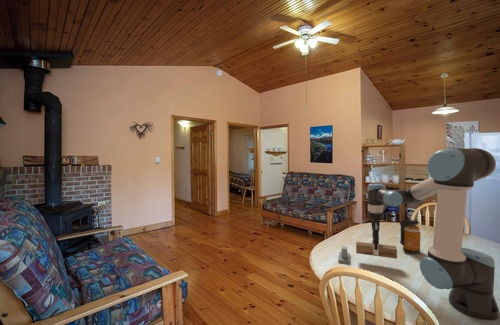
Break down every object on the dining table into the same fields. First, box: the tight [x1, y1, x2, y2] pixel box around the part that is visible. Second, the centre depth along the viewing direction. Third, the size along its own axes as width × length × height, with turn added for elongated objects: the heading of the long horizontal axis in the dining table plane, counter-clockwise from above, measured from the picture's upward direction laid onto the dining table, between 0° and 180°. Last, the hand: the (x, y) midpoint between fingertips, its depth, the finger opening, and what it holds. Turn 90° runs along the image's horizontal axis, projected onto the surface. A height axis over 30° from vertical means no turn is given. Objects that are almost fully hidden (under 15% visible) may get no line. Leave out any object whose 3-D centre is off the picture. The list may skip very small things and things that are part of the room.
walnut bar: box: [355, 241, 398, 259], centre depth 137 cm, size 5×20×5 cm, turn 66°
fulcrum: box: [337, 245, 351, 265], centre depth 144 cm, size 12×6×7 cm, turn 156°
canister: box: [399, 219, 421, 254], centre depth 153 cm, size 9×11×20 cm
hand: (375, 252), depth 137 cm, fingers closed on walnut bar, 5 cm apart
